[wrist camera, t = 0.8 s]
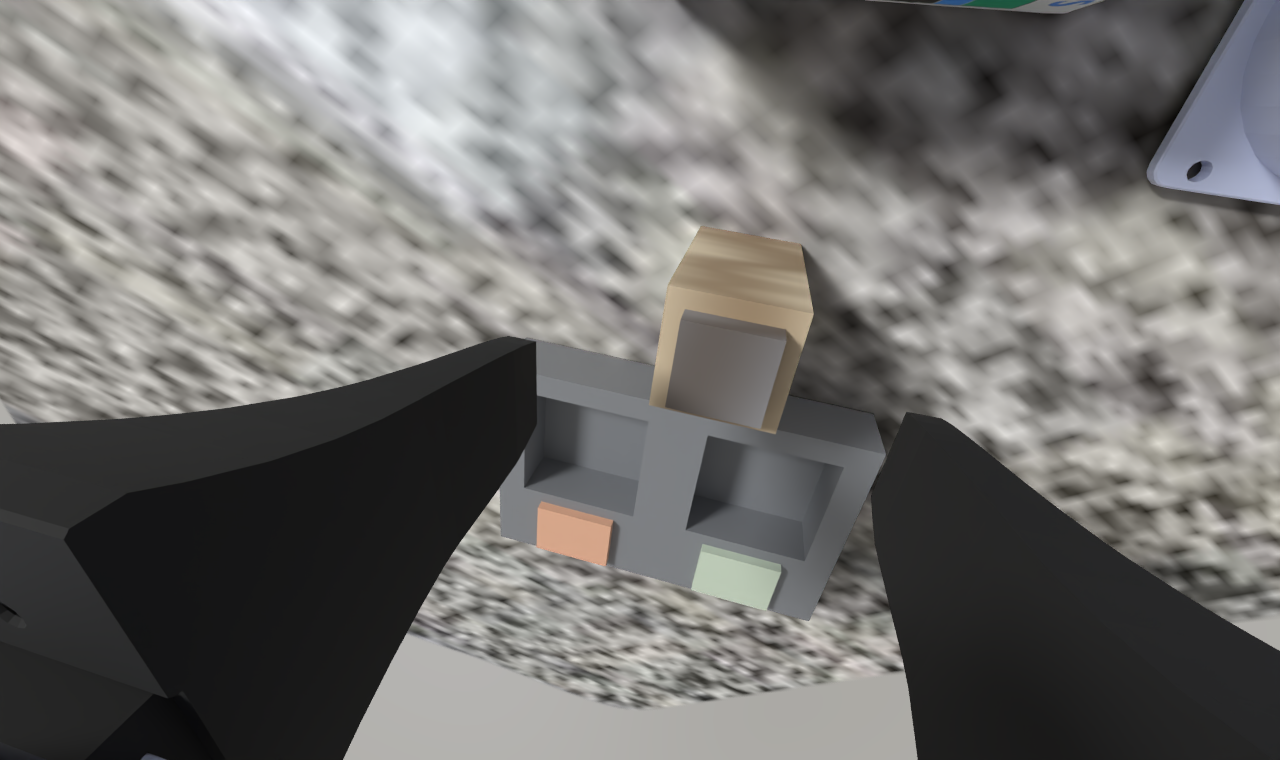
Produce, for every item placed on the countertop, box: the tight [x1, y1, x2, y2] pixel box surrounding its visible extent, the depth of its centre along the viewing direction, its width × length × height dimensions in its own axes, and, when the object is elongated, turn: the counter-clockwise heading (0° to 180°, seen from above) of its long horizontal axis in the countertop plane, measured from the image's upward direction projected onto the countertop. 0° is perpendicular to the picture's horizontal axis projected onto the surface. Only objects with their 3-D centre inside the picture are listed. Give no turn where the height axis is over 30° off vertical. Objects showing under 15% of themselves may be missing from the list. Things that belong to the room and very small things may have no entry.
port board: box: [500, 338, 886, 621], centre depth 21 cm, size 14×9×3 cm, turn 82°
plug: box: [649, 226, 814, 434], centre depth 15 cm, size 3×3×7 cm
